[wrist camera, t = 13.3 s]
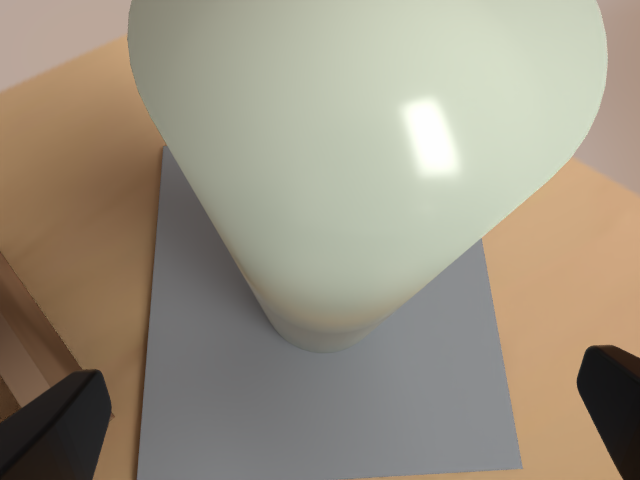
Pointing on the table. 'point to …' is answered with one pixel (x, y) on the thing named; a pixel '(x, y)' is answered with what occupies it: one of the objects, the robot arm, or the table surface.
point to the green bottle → (363, 135)
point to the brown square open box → (28, 342)
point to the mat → (312, 374)
